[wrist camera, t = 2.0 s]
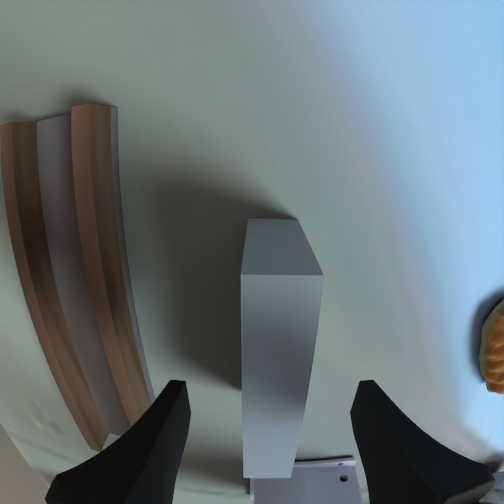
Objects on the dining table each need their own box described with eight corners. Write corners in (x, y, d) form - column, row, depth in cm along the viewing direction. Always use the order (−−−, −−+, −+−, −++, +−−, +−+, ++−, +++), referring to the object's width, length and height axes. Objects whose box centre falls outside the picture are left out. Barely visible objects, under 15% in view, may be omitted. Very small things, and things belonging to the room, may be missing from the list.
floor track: (117, 107, 14) (89, 102, 11) (165, 435, 22) (158, 463, 19) (32, 124, 14) (0, 126, 11) (101, 424, 22) (90, 448, 19)
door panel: (297, 218, 16) (323, 275, 9) (284, 392, 20) (290, 477, 14) (248, 217, 16) (240, 274, 9) (247, 392, 20) (243, 477, 14)
